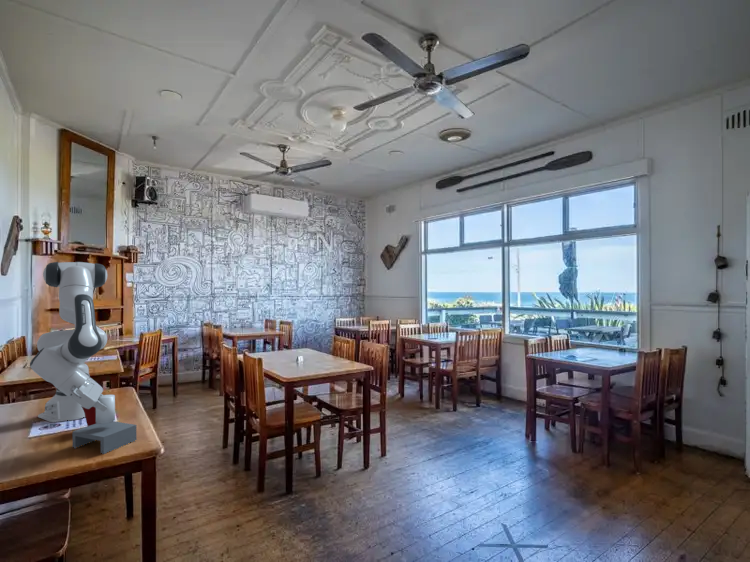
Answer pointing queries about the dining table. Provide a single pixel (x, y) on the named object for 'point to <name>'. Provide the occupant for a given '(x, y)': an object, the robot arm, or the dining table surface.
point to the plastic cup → (90, 415)
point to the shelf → (106, 435)
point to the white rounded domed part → (109, 412)
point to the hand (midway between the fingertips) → (107, 406)
